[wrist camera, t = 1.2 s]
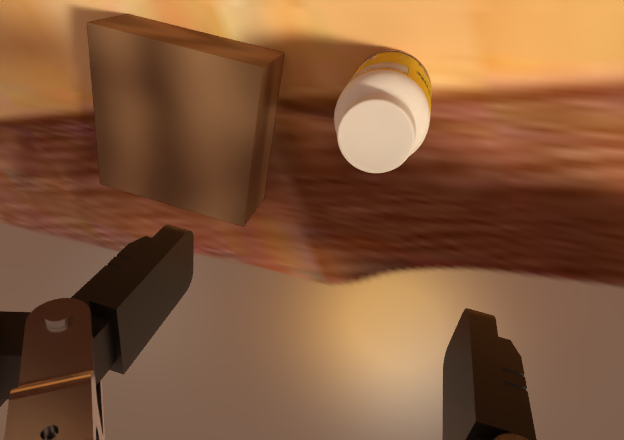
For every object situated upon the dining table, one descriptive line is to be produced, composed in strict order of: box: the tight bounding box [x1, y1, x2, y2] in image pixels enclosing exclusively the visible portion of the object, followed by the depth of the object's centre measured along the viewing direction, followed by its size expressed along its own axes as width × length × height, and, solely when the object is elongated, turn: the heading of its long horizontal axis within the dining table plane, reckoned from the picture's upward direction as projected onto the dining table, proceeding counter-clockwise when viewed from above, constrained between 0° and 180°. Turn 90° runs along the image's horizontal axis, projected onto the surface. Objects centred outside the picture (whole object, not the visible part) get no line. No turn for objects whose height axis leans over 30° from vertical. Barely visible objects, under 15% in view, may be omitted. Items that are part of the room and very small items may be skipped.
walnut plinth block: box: [87, 14, 285, 227], centre depth 34 cm, size 12×12×5 cm
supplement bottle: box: [334, 50, 431, 173], centre depth 27 cm, size 5×5×10 cm
